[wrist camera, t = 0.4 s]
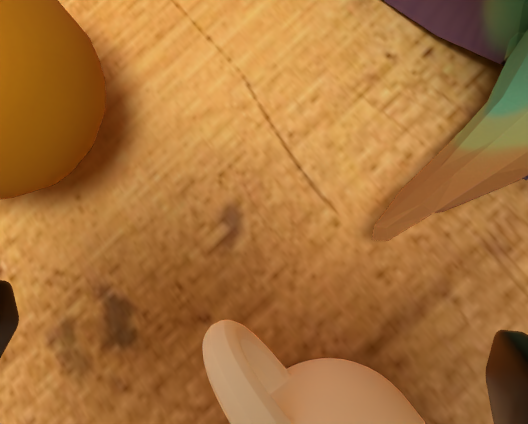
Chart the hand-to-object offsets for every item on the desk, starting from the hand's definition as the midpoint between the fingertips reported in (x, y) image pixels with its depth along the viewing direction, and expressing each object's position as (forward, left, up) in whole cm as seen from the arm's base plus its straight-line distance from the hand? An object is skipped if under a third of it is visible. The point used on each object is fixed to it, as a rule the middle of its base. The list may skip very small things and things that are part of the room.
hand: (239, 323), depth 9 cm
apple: (+9, +10, -15) cm, 20 cm away
